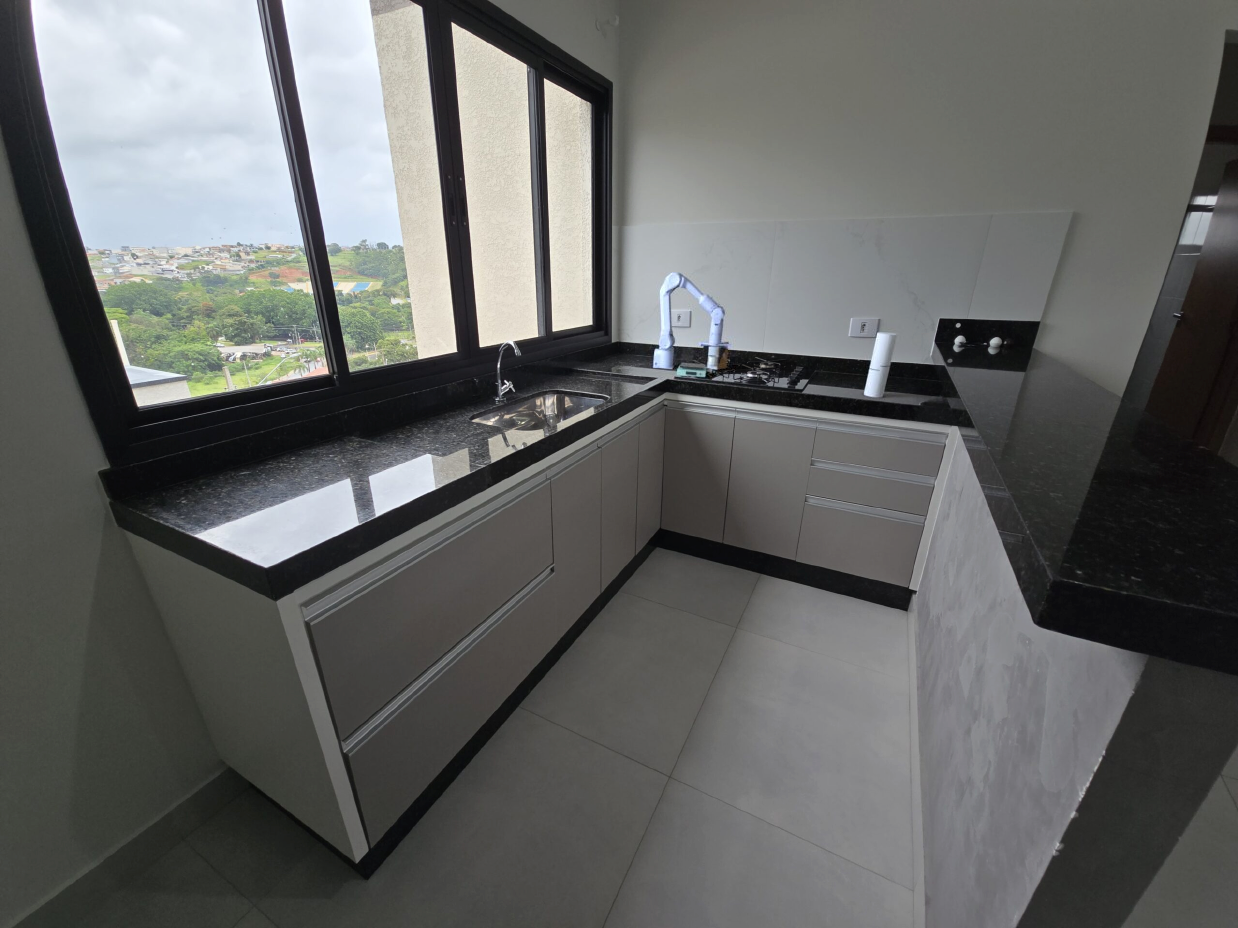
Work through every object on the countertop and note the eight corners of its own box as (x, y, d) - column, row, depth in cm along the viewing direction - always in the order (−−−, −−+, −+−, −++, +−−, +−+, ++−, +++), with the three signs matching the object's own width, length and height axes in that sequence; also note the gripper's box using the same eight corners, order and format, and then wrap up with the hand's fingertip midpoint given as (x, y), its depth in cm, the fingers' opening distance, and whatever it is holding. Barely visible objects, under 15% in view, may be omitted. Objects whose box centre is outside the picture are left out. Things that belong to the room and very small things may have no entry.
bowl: (706, 366, 241) (707, 356, 239) (707, 364, 246) (708, 354, 244) (717, 367, 240) (718, 357, 238) (718, 365, 245) (719, 355, 243)
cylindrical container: (884, 398, 205) (899, 335, 196) (866, 396, 206) (880, 333, 197) (880, 394, 211) (894, 333, 202) (862, 392, 213) (875, 331, 204)
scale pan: (679, 367, 233) (679, 365, 233) (681, 364, 241) (681, 362, 241) (703, 369, 231) (703, 367, 231) (704, 366, 239) (705, 364, 239)
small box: (717, 370, 249) (719, 343, 244) (706, 368, 253) (708, 341, 249) (726, 368, 254) (729, 341, 250) (716, 366, 258) (718, 340, 254)
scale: (676, 375, 233) (677, 369, 232) (679, 370, 244) (679, 365, 243) (705, 377, 231) (705, 371, 230) (706, 372, 241) (706, 367, 240)
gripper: (699, 333, 235) (697, 362, 240) (731, 335, 232) (728, 365, 237) (700, 331, 241) (698, 360, 246) (731, 333, 239) (728, 362, 244)
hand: (712, 362), depth 242 cm, fingers closed on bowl, 5 cm apart
